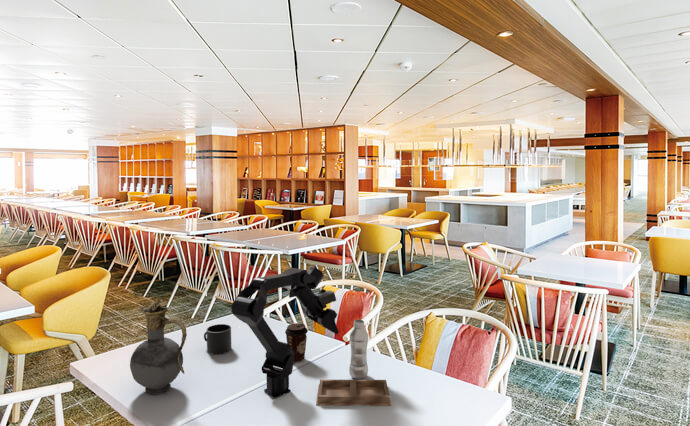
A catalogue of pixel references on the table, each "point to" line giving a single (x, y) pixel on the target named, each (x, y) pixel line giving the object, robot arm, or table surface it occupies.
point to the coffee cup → (297, 340)
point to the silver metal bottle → (358, 350)
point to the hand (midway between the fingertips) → (332, 330)
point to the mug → (218, 339)
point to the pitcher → (157, 352)
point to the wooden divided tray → (353, 392)
